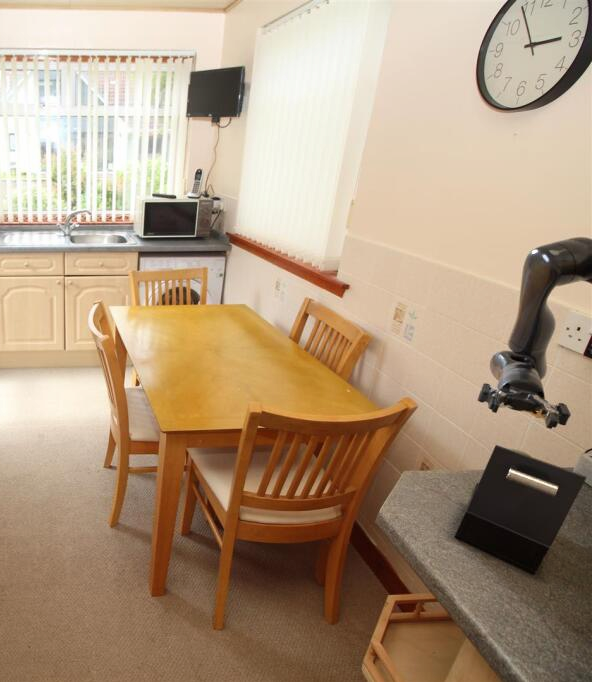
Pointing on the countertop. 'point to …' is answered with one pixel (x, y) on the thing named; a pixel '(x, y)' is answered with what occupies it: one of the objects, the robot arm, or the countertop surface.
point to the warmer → (500, 541)
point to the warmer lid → (525, 494)
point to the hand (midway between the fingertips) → (522, 416)
